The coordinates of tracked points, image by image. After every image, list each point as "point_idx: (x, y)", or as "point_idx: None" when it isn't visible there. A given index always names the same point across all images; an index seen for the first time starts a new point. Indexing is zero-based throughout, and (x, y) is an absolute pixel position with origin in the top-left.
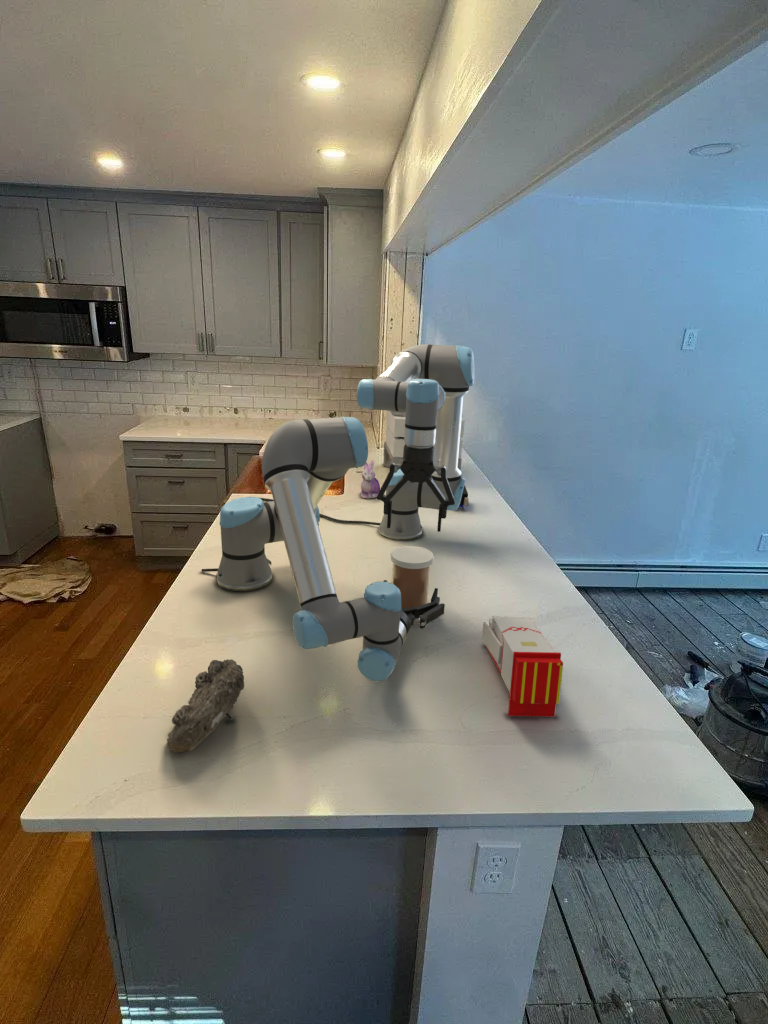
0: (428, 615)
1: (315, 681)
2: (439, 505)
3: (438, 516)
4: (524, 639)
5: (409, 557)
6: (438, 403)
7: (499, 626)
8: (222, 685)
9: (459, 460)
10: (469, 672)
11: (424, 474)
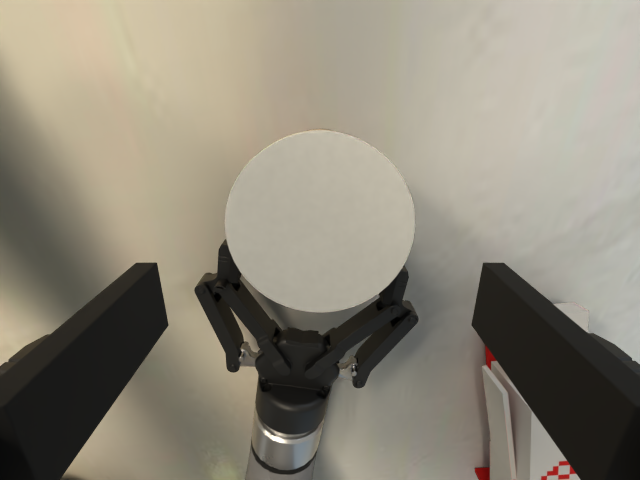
0: (372, 368)
1: (189, 441)
2: (616, 457)
3: (531, 355)
4: None
5: (310, 266)
6: None
7: (532, 463)
8: None
9: None
10: (436, 394)
11: None
